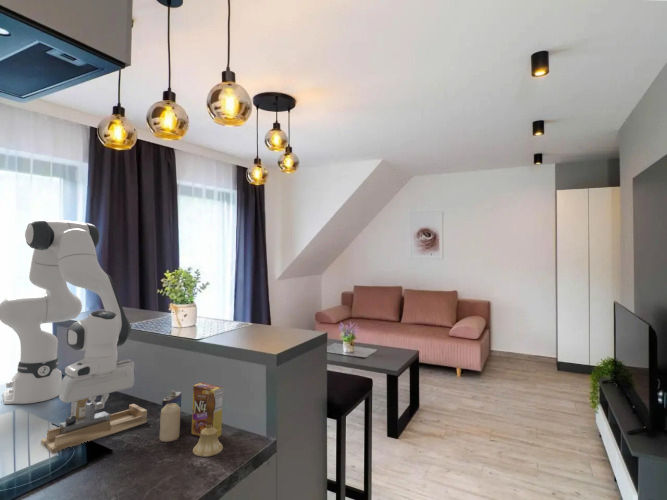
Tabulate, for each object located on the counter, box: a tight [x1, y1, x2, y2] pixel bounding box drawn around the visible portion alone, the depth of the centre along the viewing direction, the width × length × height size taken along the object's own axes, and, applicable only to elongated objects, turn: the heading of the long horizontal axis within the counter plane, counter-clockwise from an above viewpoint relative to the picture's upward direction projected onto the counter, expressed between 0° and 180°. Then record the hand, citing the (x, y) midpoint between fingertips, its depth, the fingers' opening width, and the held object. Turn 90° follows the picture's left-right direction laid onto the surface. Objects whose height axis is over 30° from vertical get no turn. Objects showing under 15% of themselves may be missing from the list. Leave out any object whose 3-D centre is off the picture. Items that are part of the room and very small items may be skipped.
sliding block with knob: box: [59, 402, 111, 435], centre depth 113 cm, size 4×12×8 cm, turn 144°
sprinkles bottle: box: [70, 398, 89, 419], centre depth 119 cm, size 5×5×13 cm
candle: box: [159, 403, 182, 443], centre depth 113 cm, size 6×6×10 cm
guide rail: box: [40, 403, 148, 454], centre depth 115 cm, size 9×26×4 cm, turn 144°
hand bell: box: [192, 393, 224, 458], centre depth 107 cm, size 8×8×16 cm
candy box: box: [191, 381, 224, 438], centre depth 116 cm, size 9×4×15 cm, turn 65°
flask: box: [161, 389, 182, 419], centre depth 123 cm, size 9×3×11 cm, turn 171°
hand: (98, 409), depth 115 cm, fingers closed
